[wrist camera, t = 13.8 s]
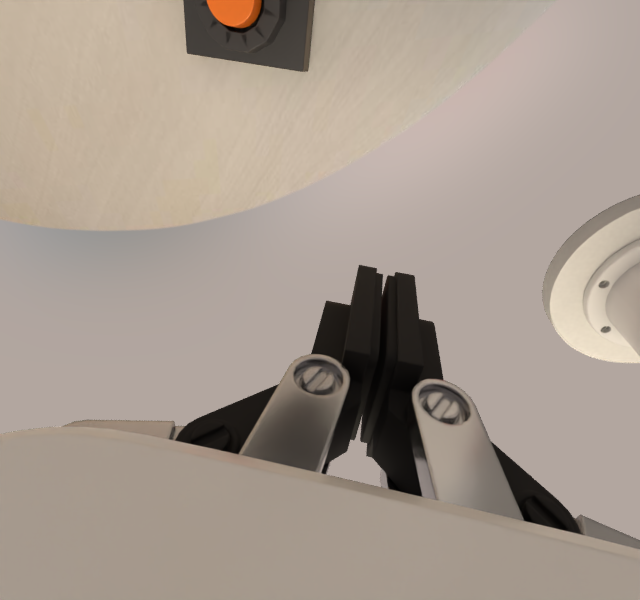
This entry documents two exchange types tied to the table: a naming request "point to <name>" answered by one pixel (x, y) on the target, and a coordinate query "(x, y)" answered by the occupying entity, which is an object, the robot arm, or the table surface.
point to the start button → (235, 11)
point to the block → (254, 34)
